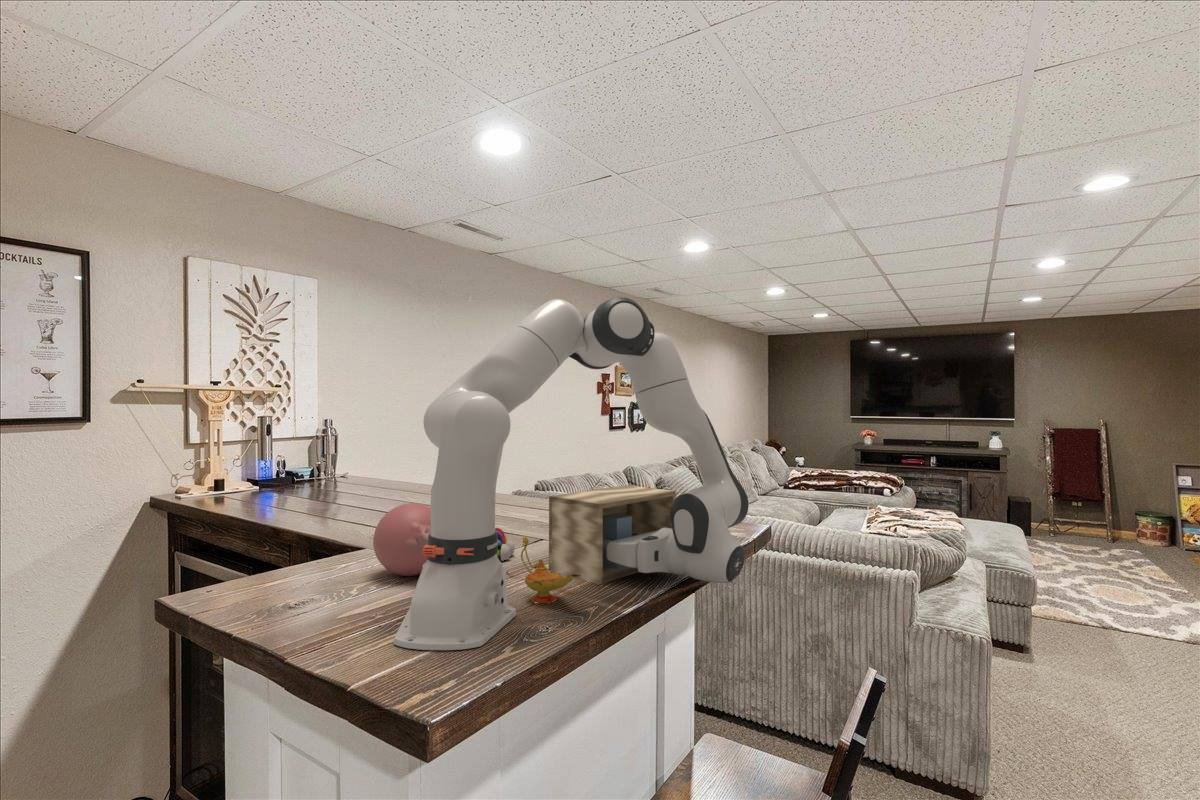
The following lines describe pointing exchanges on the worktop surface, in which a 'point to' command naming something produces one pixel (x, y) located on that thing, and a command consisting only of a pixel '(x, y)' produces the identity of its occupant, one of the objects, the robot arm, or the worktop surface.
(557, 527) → the birch cubby
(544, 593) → the magic lamp
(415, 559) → the pink ball
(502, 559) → the multicolored small figure
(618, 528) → the slate block
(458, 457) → the robot arm
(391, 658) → the worktop surface
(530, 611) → the worktop surface
